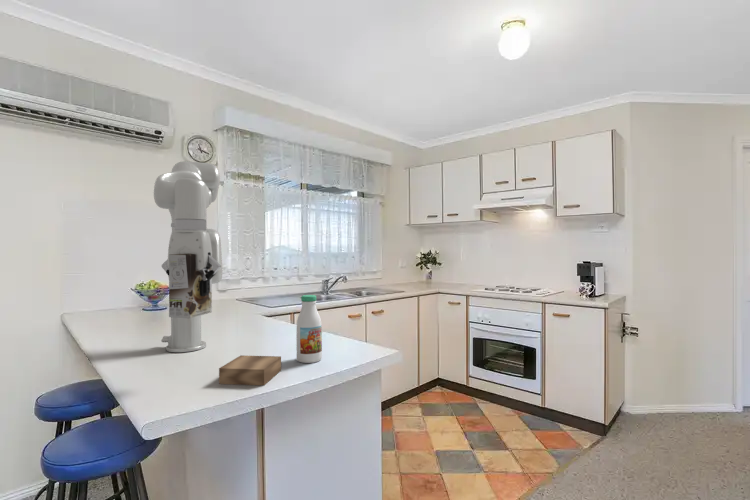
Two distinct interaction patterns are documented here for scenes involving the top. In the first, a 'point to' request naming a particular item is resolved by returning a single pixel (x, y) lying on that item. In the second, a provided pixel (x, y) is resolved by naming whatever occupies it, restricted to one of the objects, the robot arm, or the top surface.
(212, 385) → the top surface
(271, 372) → the plinth
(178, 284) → the cookie box
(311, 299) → the milk bottle
